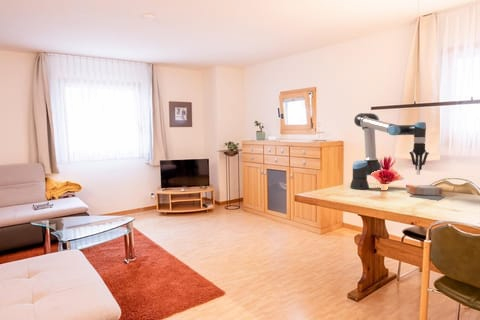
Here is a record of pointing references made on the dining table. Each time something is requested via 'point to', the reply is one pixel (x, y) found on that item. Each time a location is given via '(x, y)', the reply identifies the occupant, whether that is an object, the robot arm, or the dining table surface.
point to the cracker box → (424, 190)
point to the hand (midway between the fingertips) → (418, 174)
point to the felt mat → (428, 197)
